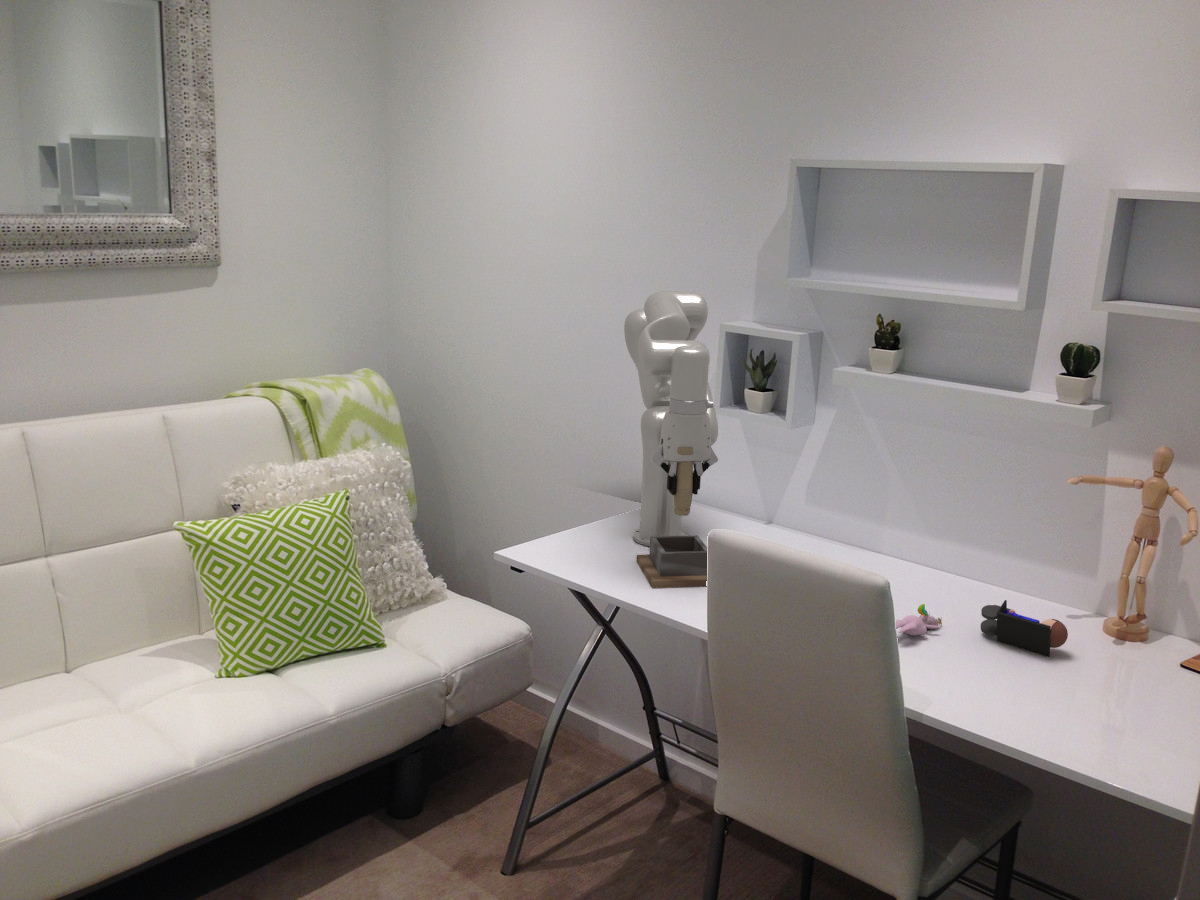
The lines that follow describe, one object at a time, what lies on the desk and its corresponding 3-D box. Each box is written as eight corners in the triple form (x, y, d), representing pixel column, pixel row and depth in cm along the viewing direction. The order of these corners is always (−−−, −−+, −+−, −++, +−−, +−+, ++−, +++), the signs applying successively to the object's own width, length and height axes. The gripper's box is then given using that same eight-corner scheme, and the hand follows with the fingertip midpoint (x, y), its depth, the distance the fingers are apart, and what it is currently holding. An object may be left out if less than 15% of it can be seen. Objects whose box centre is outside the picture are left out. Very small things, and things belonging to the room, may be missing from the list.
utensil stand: (636, 561, 227) (637, 533, 226) (702, 559, 230) (704, 531, 228) (652, 588, 212) (653, 558, 210) (723, 586, 215) (725, 556, 213)
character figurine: (986, 630, 198) (1067, 655, 188) (970, 638, 192) (1053, 665, 183) (993, 591, 196) (1075, 614, 187) (977, 598, 191) (1061, 622, 181)
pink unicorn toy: (918, 626, 202) (878, 634, 191) (923, 596, 201) (884, 603, 190) (947, 636, 197) (909, 645, 187) (953, 606, 196) (915, 613, 186)
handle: (700, 514, 218) (705, 444, 214) (679, 519, 214) (683, 449, 210) (684, 508, 222) (687, 440, 218) (663, 514, 217) (666, 444, 214)
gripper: (722, 403, 217) (716, 487, 222) (643, 403, 214) (640, 488, 219) (732, 410, 210) (726, 497, 215) (651, 410, 207) (647, 498, 212)
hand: (683, 492), depth 217 cm, fingers closed on handle, 4 cm apart
